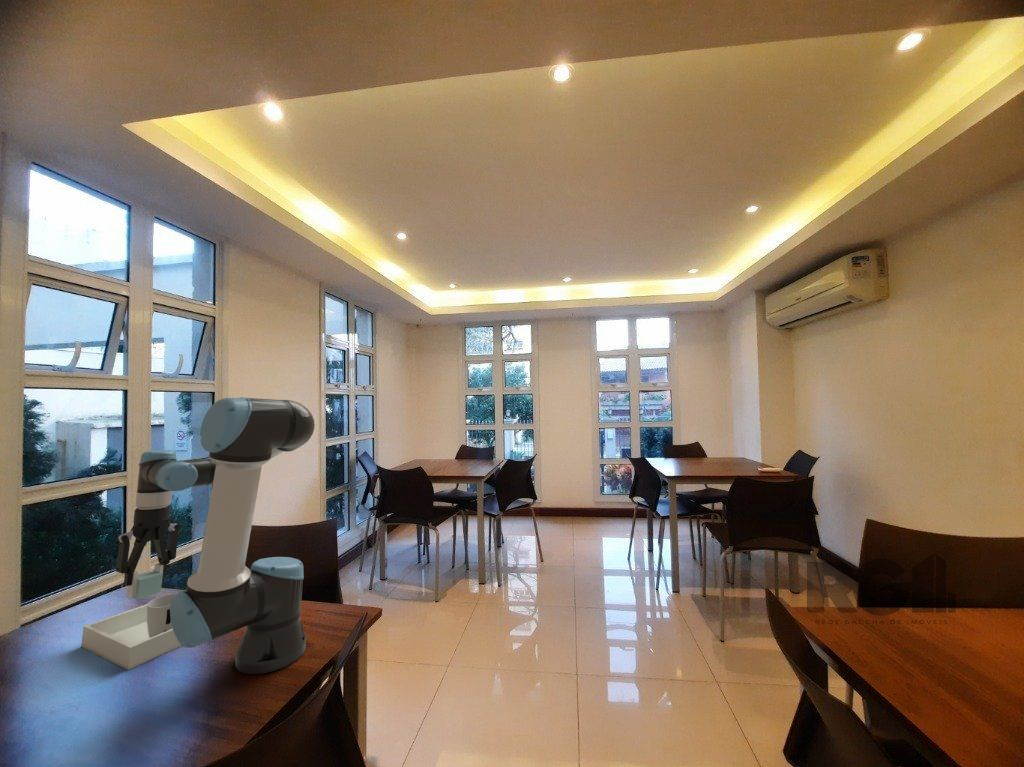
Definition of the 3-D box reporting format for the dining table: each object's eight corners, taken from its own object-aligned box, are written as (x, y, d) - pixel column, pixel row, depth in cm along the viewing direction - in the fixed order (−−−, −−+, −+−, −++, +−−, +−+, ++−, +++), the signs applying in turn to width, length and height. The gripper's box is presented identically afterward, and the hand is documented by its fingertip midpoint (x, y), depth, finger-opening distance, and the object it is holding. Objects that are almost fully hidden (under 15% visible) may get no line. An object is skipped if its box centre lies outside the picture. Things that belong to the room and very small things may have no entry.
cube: (149, 588, 111) (151, 570, 111) (160, 591, 109) (162, 573, 109) (127, 595, 106) (129, 576, 106) (138, 599, 104) (140, 580, 105)
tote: (217, 629, 109) (219, 610, 110) (128, 670, 91) (130, 647, 92) (171, 612, 117) (173, 594, 118) (81, 646, 99) (83, 626, 100)
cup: (160, 650, 98) (164, 609, 99) (134, 646, 99) (138, 605, 100) (192, 633, 106) (195, 595, 107) (167, 629, 107) (171, 591, 108)
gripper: (182, 498, 119) (174, 577, 117) (103, 511, 103) (92, 603, 101) (197, 501, 116) (189, 582, 114) (118, 515, 100) (107, 610, 98)
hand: (144, 592), depth 108 cm, fingers closed on cube, 5 cm apart
